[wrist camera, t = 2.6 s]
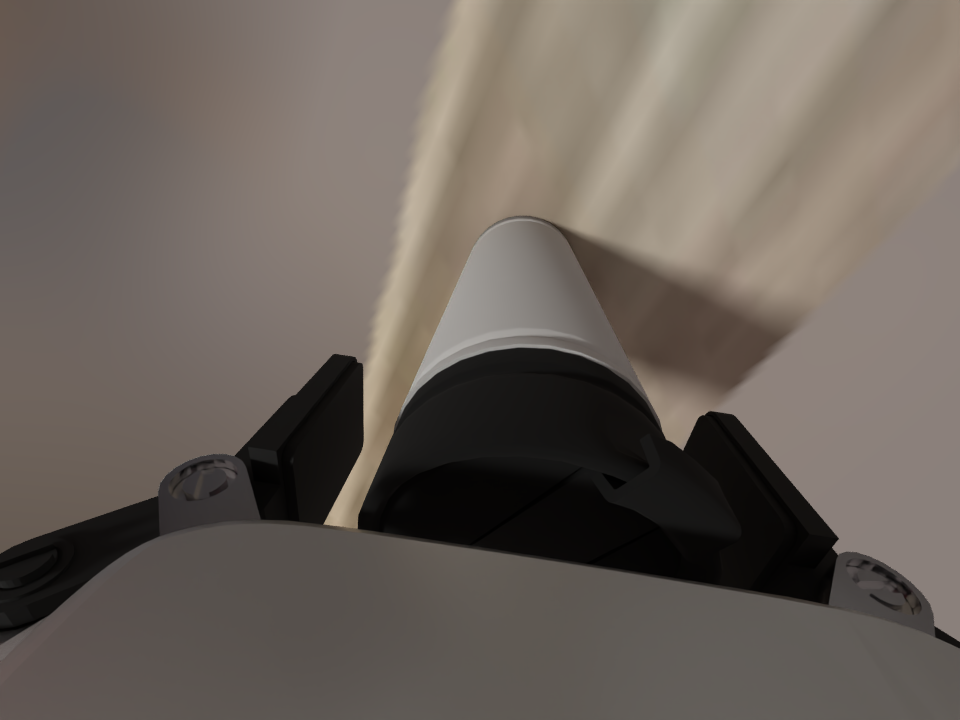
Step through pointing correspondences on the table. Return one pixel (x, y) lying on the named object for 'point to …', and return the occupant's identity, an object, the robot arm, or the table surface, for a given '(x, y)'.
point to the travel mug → (542, 429)
